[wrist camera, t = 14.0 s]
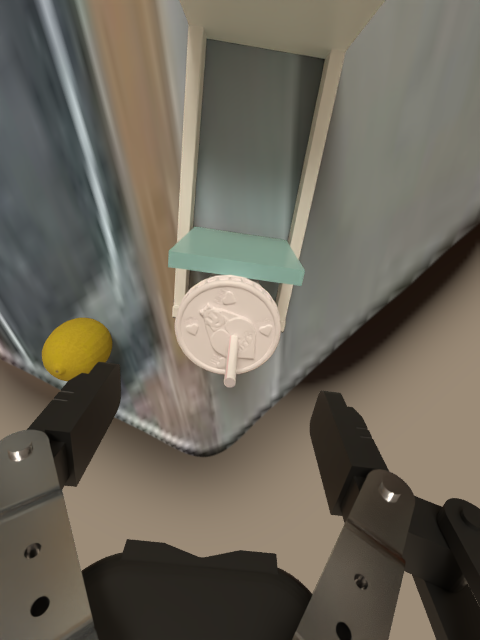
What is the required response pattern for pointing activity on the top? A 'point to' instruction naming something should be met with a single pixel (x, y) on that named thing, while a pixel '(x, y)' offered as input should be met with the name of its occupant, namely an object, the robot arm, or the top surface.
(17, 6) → the top surface
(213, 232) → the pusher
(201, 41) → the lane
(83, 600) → the robot arm
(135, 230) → the top surface
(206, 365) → the smoothie
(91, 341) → the lemon
